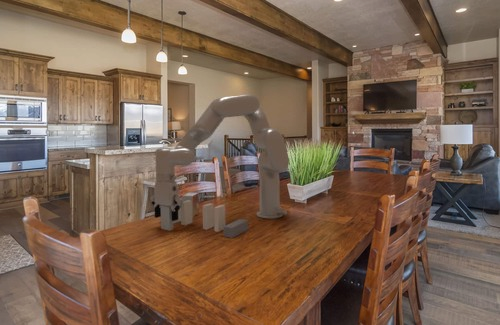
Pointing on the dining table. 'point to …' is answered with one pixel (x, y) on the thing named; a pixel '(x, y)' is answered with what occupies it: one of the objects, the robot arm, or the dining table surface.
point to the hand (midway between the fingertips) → (166, 218)
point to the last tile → (219, 218)
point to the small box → (195, 202)
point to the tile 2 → (186, 212)
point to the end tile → (178, 216)
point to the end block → (235, 228)
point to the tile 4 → (208, 216)
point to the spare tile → (166, 218)
